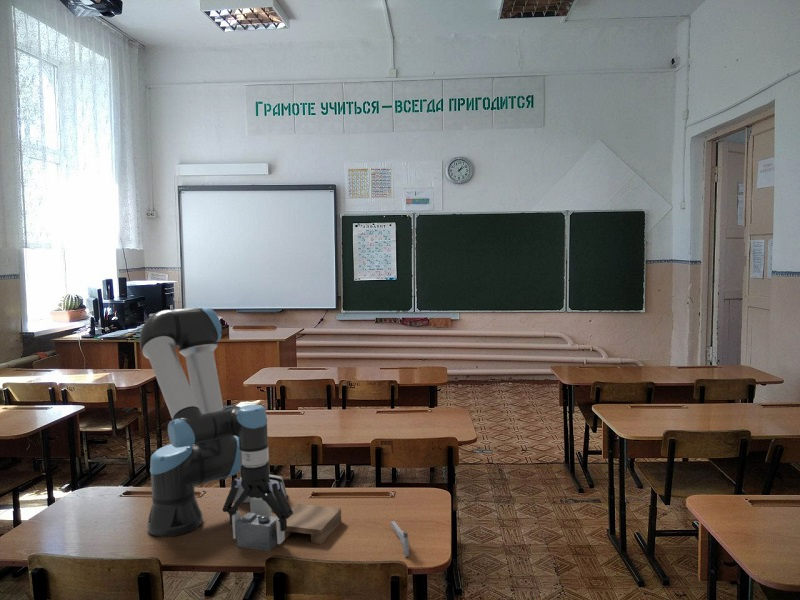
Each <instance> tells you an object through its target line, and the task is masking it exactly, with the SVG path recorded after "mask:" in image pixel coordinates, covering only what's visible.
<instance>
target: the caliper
mask: <svg viewBox="0 0 800 600" xmlns="http://www.w3.org/2000/svg"><path fill="white" fill-rule="evenodd" d="M390 525H391V528H392V529H393V531H394V532H395V534H396V535H397V536H398V538H399V542H400V544H402V549H403V550H402V553H403V555H404V557H405V558H408V557H410V544H409V543H410V542H409V536H408V534H409V533H408V532H407V531H404V530H402V529H401V527H400V526H399V525H398V524H397V522H396V521H395V520H392V521H390Z"/></svg>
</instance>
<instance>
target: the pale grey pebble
mask: <svg viewBox="0 0 800 600" xmlns="http://www.w3.org/2000/svg"><path fill="white" fill-rule="evenodd" d="M265 495H266V496H267V493H266V494H265ZM249 506H250V507H249V508H250V513H257V515H264V514H266V515H269V516H272V517H273V515H272V512H273V510H272V509H271V508H270V507H269V505H268V504H267V503H266V501H263V499H262V498H255V497H253V498H250V502H249Z"/></svg>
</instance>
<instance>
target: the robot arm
mask: <svg viewBox="0 0 800 600" xmlns="http://www.w3.org/2000/svg"><path fill="white" fill-rule="evenodd" d="M222 336H223V335H222V324H221V321H220V318H219V316H218V314H217V313H216V311H215V310H213V308H211V307H207V306H206V307H200V306H195V307H189V308H188V307H187V308H179V309H178V308H175V309H163V310H160V311H157V312H155V313H154V314H152V315H151V316H150V317H148V319H146V321H145V323H144V324H143V326H142V328H141V330H140V334H139V347H140V350H141V353H142V355H143V357H144V358H146V359H148V361H149V363H150V366H151V369H152V371H153V374H154V375H155V378H156V381H157V384H158V386H159V388H160V391H161V393H162V396H163V399H164V402H165V404H166V406H167V409H168V411H169V414H170V418H171V419H172V420H169V423H168V424H167V435H168V440H169V442H170V443H169V444H166V445H164V446H162V447H159V448H158V449H156V450H155V452H153V453H152V455H151V456H150V462H149V463H150V464H149V466H150V468H149V472H150V484H151V485H150V486H151V497H152V504H151V507H150V512H149V515H148V519H147V532H148V534H150V535H152V536H155V537H160V538H162V537H163V538H164V537H165V538H167V537H175V536H181V535H184V534H186V533H189V532H192V531H194V530H195V529H197V528H198V527H200V526H201V525H202V522H203V512H202V510H201V509H200V506H199V504H198V501H197V498H196V495H195V493H196V491H195V486H199V485H205V484H206V483H207V484H208V483H210V482H214V481H218V480H223V479H227V478H229V477H232V476H235V475H237V474H238V473H240V477H239V476H238V477H236V478H234V479H233V480H231V484H230V490H229V492H228V495H227V498H226V500H225V503H224V504H223V508H222V512H224V513H227V514H228V515H229V524H230V526H232V538H233V539H234V540H237V536H236V521H238V520H239V519H240V518H241V514H240V513H241V512H240V511H238V510H239V509H240V507H241V505H242V504H244V503H243V502H244V501H245V499H246V498H247V497H248V496H249V497H250V498H253V497H255V498H262V499H263V501H266V503H267V504H268V505H269V507H270V508H271V511H272V512H273V513H274V515H275V517H278V519H277V520H276V524H277V545H281V544H282V543H283V542H284V541H285V540H286V539H285V533H284V531H285V530H286V528H287V520H286V518H289V517H290V516H291V515H292V514H293V511H292V509H293V508H292V506H291V505H290V503H289V501H288V499H287V496H286V497H285V495H284V493H283V491H282V489H281V483H280V481H276V482H270V480H269V475H271V474H270V473H271V472H270V463H269V462H268V461H269V460H270V456H269V455H270V454H269V445H268V443H269V441H268V417H267V411H266V407H265V406H264V405H261V404H248V405H244V406H238V405H227V406H224V404H223V398H222V393H221V387H220V380H219V375H218V371H217V370H218V369H217V364H216V359H215V354H214V353H215V350H216V349H217V348H218V342H220V340H221V338H222ZM177 347H178V351H179V354H180V355H182V357H184V358H185V362H186V363H185V364H186V370H187V374H188V378H187V376H186V373H185V371H184V369H183V365H182V364H181V362H180V359H179V357H178V354H177V352H176V350H175V349H176V348H177ZM240 478H242V480H240ZM240 486H242V488H243V489H244V491H243V493H242V494H241V495H240V497H239V499H238V500H237V501H236V502H235V503H234V499H235V497H236V494H237V492H238V489H239V487H240ZM269 488H271V490H272V491H273V493H274V496H275V498H276V499H275V498H274V496H273V493H272V492H271V490H270V489H269ZM266 493H267V496H266V495H265V494H266Z"/></svg>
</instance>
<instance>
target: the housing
mask: <svg viewBox="0 0 800 600" xmlns="http://www.w3.org/2000/svg"><path fill="white" fill-rule="evenodd" d="M277 519H278V517H277V516H273V515H272V516H269V515H266V514H264V515H257V513H251V512H247V513H245V514H244V515H243V516H241V517H240V519H239V520H238V521H236V536H237V538H236V547H238V548H243V549H244V548H245V549H250V550H251V549H252V550H258V551H259V550H260V551H267V552H268V551H269V552H271V550H272V549H274V548H275V547H276V546H277V545H278V544H277V524H276V520H277Z"/></svg>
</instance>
